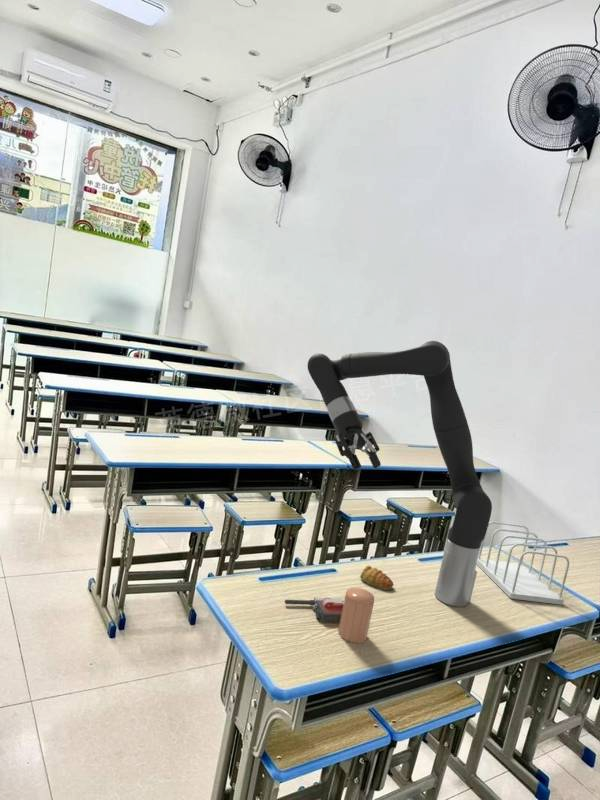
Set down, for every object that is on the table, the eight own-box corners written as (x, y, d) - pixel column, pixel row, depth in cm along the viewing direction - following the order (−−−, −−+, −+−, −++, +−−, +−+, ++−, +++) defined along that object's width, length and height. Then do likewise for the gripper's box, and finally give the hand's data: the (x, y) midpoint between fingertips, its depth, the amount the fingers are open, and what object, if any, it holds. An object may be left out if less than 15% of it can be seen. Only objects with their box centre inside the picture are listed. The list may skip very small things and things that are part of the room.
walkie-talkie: (356, 606, 142) (282, 604, 137) (359, 590, 142) (285, 588, 136) (368, 625, 134) (291, 624, 128) (372, 608, 133) (294, 606, 128)
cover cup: (356, 625, 132) (364, 586, 131) (371, 640, 127) (379, 601, 125) (333, 627, 129) (341, 588, 128) (347, 644, 124) (356, 603, 122)
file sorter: (563, 606, 164) (575, 557, 162) (510, 600, 162) (522, 551, 160) (520, 568, 189) (530, 525, 187) (473, 562, 186) (483, 519, 184)
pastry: (396, 587, 157) (398, 574, 157) (386, 594, 152) (388, 581, 151) (368, 574, 162) (370, 562, 162) (357, 580, 157) (359, 568, 156)
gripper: (336, 408, 145) (360, 462, 139) (369, 409, 155) (393, 460, 149) (318, 423, 150) (341, 476, 143) (351, 423, 160) (374, 472, 153)
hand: (368, 467), depth 146 cm, fingers open, 8 cm apart
